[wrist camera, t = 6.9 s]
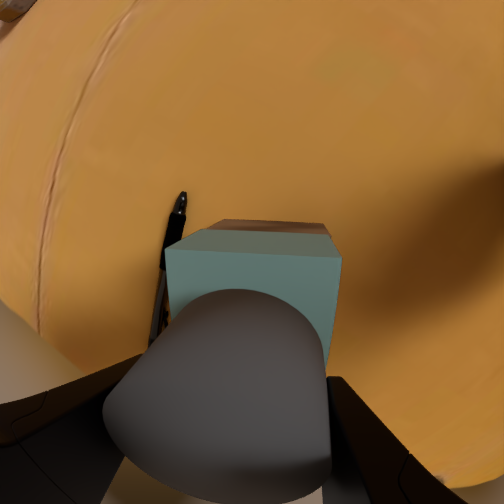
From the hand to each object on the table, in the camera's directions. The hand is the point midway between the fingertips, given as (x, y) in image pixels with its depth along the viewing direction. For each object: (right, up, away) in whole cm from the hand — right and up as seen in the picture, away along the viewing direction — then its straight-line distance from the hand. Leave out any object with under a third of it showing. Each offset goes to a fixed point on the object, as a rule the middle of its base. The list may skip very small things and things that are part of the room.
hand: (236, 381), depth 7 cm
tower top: (+1, +2, +6) cm, 7 cm away
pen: (-6, +1, +12) cm, 13 cm away
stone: (0, 0, +1) cm, 1 cm away
